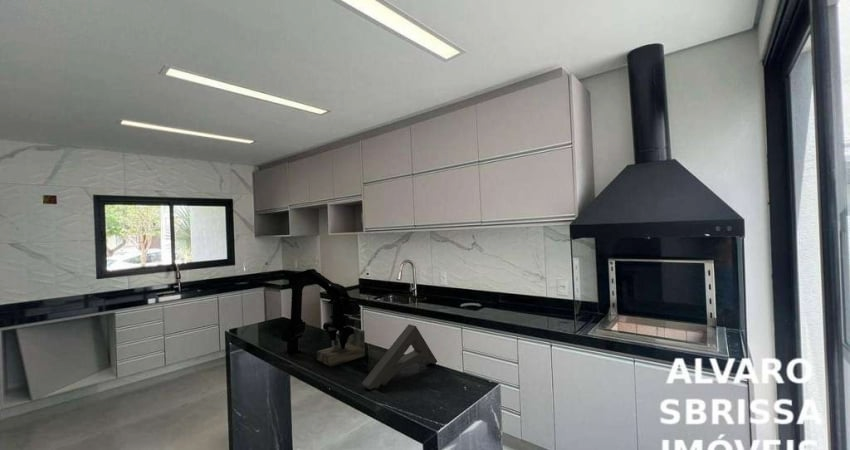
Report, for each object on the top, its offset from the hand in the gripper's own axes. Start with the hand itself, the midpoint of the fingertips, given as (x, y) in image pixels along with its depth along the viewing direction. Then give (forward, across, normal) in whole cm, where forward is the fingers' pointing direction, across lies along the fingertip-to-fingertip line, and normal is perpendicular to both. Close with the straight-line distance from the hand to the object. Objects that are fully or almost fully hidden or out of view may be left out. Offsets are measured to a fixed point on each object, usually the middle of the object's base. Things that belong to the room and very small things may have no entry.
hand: (338, 346), depth 160 cm
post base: (+6, 0, -2) cm, 6 cm away
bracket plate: (+4, 0, 0) cm, 5 cm away
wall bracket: (+6, -36, -8) cm, 37 cm away
